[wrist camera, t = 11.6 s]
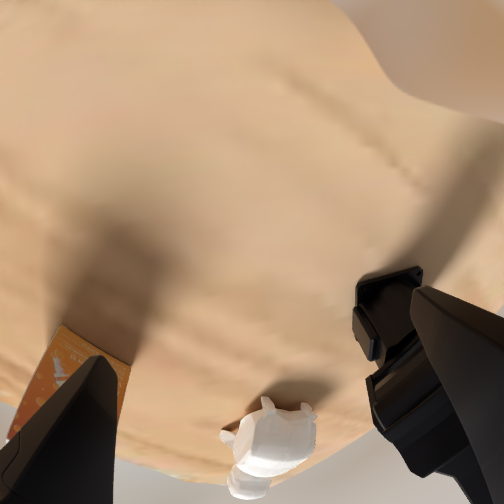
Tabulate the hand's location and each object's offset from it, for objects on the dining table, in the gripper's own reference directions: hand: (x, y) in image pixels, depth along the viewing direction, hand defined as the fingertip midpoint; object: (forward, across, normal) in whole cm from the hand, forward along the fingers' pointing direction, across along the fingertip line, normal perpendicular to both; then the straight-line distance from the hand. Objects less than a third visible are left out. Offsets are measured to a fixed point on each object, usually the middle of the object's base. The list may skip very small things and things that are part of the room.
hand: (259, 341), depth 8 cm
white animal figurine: (+13, +3, +28) cm, 31 cm away
